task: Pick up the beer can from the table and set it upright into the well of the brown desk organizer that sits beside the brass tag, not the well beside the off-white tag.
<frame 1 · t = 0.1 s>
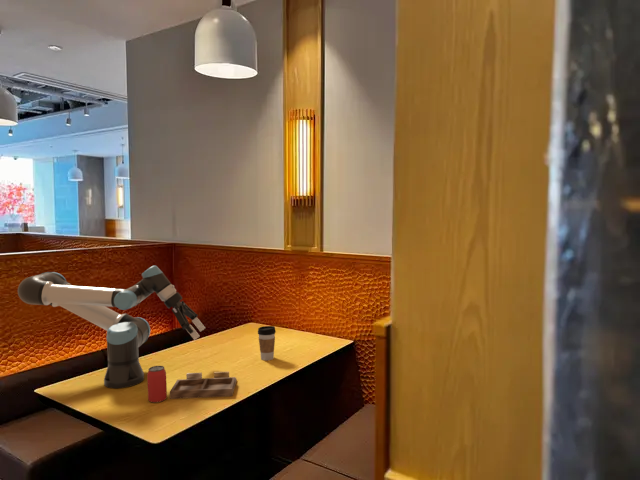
hand: (200, 333, 199), 15 cm above the table, tool tilted 35°, fingers open, 13 cm apart
coffee cup: (267, 358, 211), on the table
beer can: (157, 400, 167), on the table
brown desk organizer: (204, 391, 174), on the table
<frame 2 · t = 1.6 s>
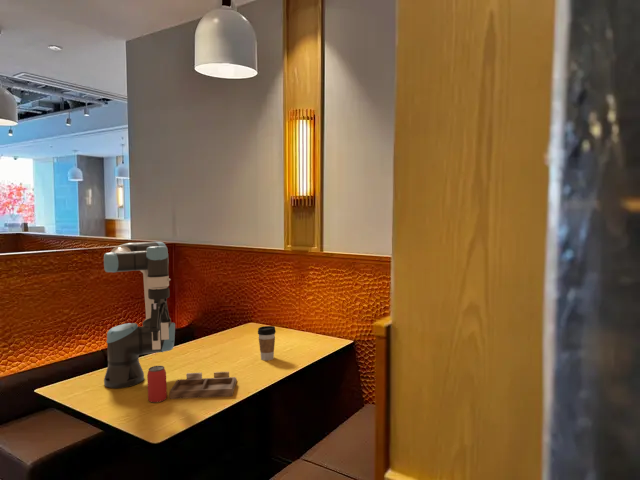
hand: (161, 344, 167), 20 cm above the table, tool pointing down, fingers open, 13 cm apart
nothing on the table moved.
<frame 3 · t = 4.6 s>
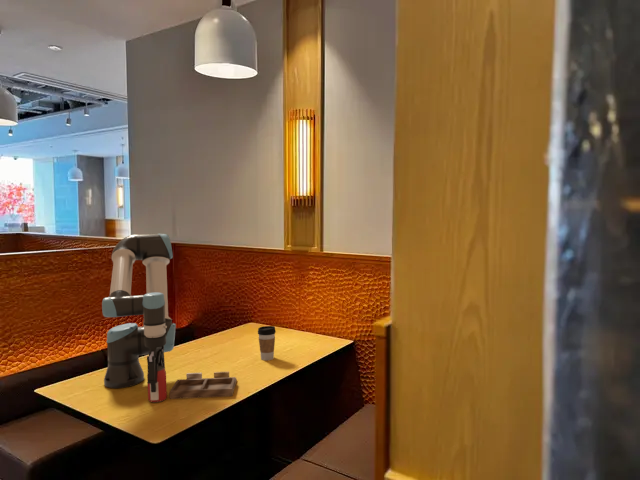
hand: (157, 395, 166), 1 cm above the table, tool pointing down, fingers closed on beer can, 6 cm apart
beer can: (157, 400, 167), on the table, touching gripper
everything else where it was.
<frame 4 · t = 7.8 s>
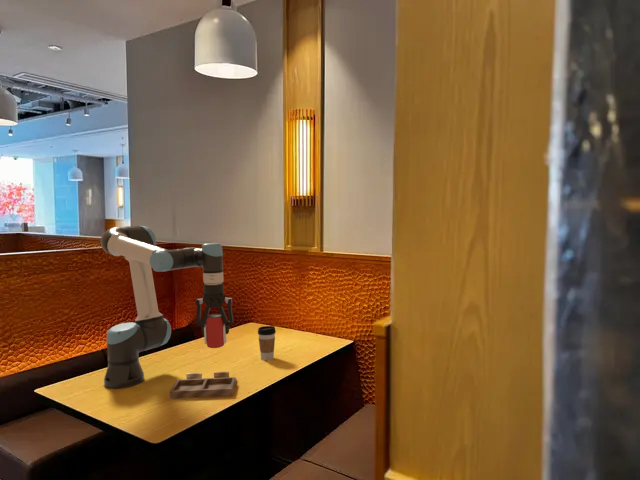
hand: (215, 342, 172), 19 cm above the table, tool pointing down, fingers closed on beer can, 6 cm apart
beer can: (215, 346, 172), point 18 cm above the table, touching gripper
everything else where it was.
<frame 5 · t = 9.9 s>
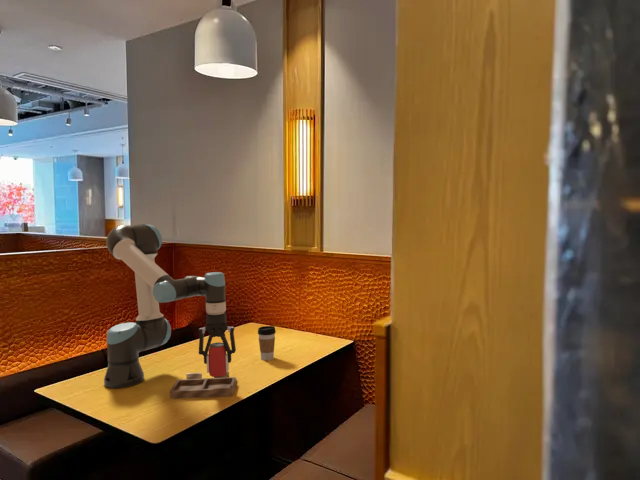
hand: (218, 371, 174), 8 cm above the table, tool pointing down, fingers closed on beer can, 6 cm apart
beer can: (218, 375, 174), point 6 cm above the table, touching gripper
everything else where it was.
when the fingers open (5 cm above the table, at t = 11.3 s): beer can drops 2 cm, resting on brown desk organizer.
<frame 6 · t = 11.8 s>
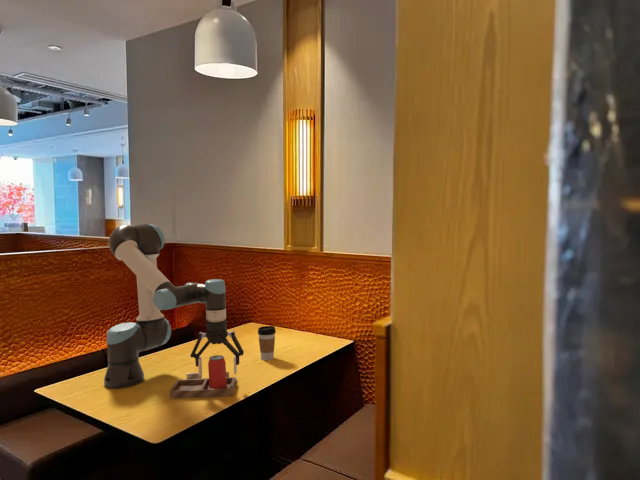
hand: (218, 373, 174), 7 cm above the table, tool pointing down, fingers open, 13 cm apart
beer can: (218, 388, 174), point 1 cm above the table, touching brown desk organizer
everything else where it was.
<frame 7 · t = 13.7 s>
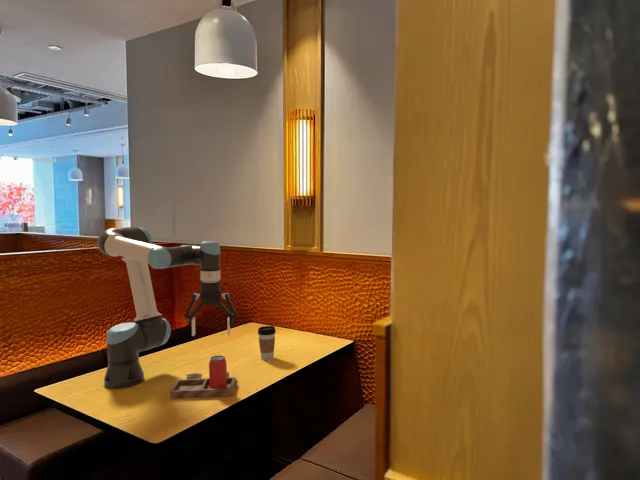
hand: (211, 334, 175), 22 cm above the table, tool pointing down, fingers open, 13 cm apart
nothing on the table moved.
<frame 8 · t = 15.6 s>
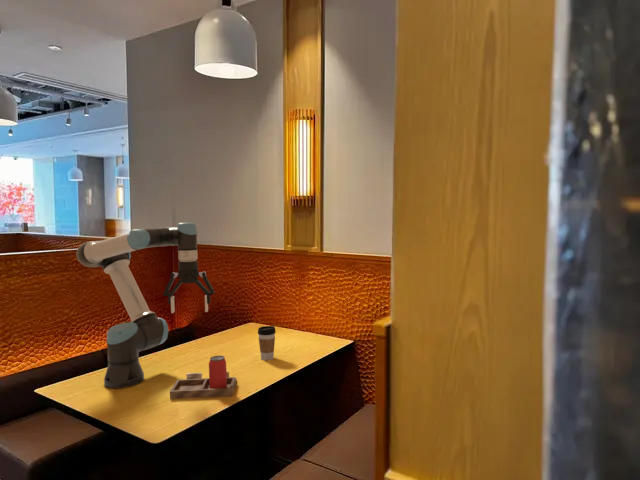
hand: (189, 312, 183), 29 cm above the table, tool pointing down, fingers open, 13 cm apart
nothing on the table moved.
at the end: beer can 0.0 cm from the target spot on the brown desk organizer, point 0.8 cm above the brown desk organizer's base; beer can tilted 0°; the gripper is holding nothing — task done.
